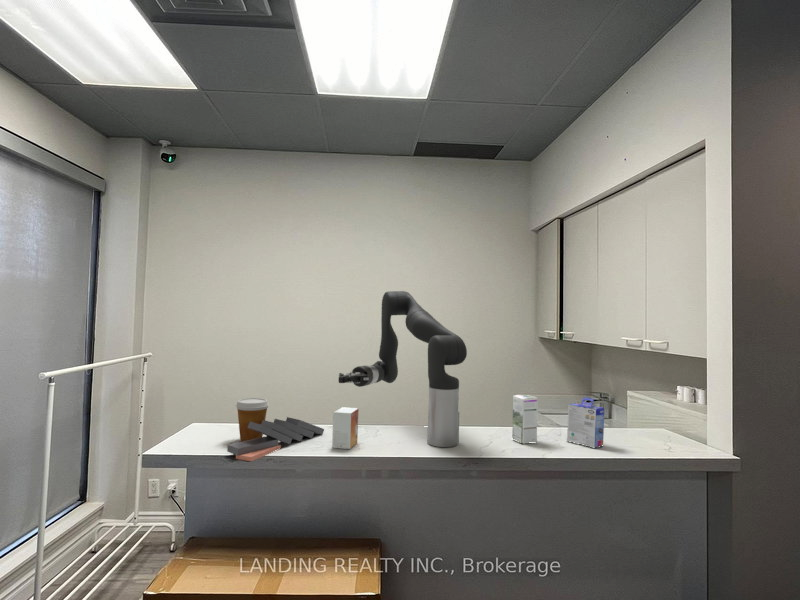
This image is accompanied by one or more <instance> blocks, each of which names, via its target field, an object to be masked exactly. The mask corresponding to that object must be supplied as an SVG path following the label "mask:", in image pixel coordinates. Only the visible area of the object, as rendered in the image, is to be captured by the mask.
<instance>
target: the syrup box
mask: <svg viewBox="0 0 800 600" xmlns="http://www.w3.org/2000/svg"><path fill="white" fill-rule="evenodd" d="M512 438H513V439H515V440H517V441H519V442H521V443H529V442H537V443H538V397H536V396H533V395H532V396H531V395H528V394H517V395H515V394H514V395H513V396H512ZM521 443H520V444H521Z"/></svg>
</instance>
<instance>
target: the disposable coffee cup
mask: <svg viewBox="0 0 800 600" xmlns="http://www.w3.org/2000/svg"><path fill="white" fill-rule="evenodd" d="M269 406H270V404H269V401H268V399H266V398H261V397H245V398H241V399H238V400H237V402H236V404H235V407H236V409H237V417H238V419H237V421H238V430H239V439H240V440H239V442H243V441H247V440H252V439H256V438H261V437H264V434H261V433H259V432H256V431H254V430H252V429H249V428H247V427H248V425H249V423H250V422H254V423H257V424H262V421H263V420H265V421H266V418H267V411H268V407H269Z"/></svg>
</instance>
